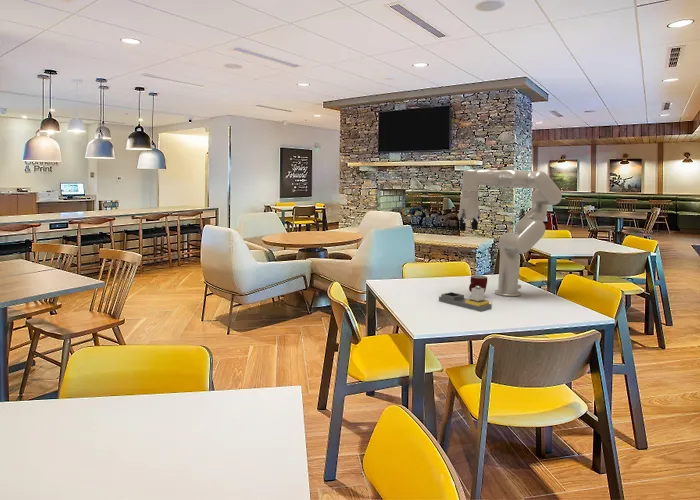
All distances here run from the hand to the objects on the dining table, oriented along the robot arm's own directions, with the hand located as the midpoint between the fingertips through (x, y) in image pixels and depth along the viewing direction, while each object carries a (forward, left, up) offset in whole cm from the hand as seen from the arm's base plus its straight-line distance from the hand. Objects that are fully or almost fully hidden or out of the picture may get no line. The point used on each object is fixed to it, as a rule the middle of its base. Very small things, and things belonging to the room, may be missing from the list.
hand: (468, 230), depth 242 cm
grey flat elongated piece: (+14, +10, -33) cm, 37 cm away
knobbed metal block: (+14, +17, -31) cm, 38 cm away
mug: (-4, +4, -34) cm, 34 cm away
